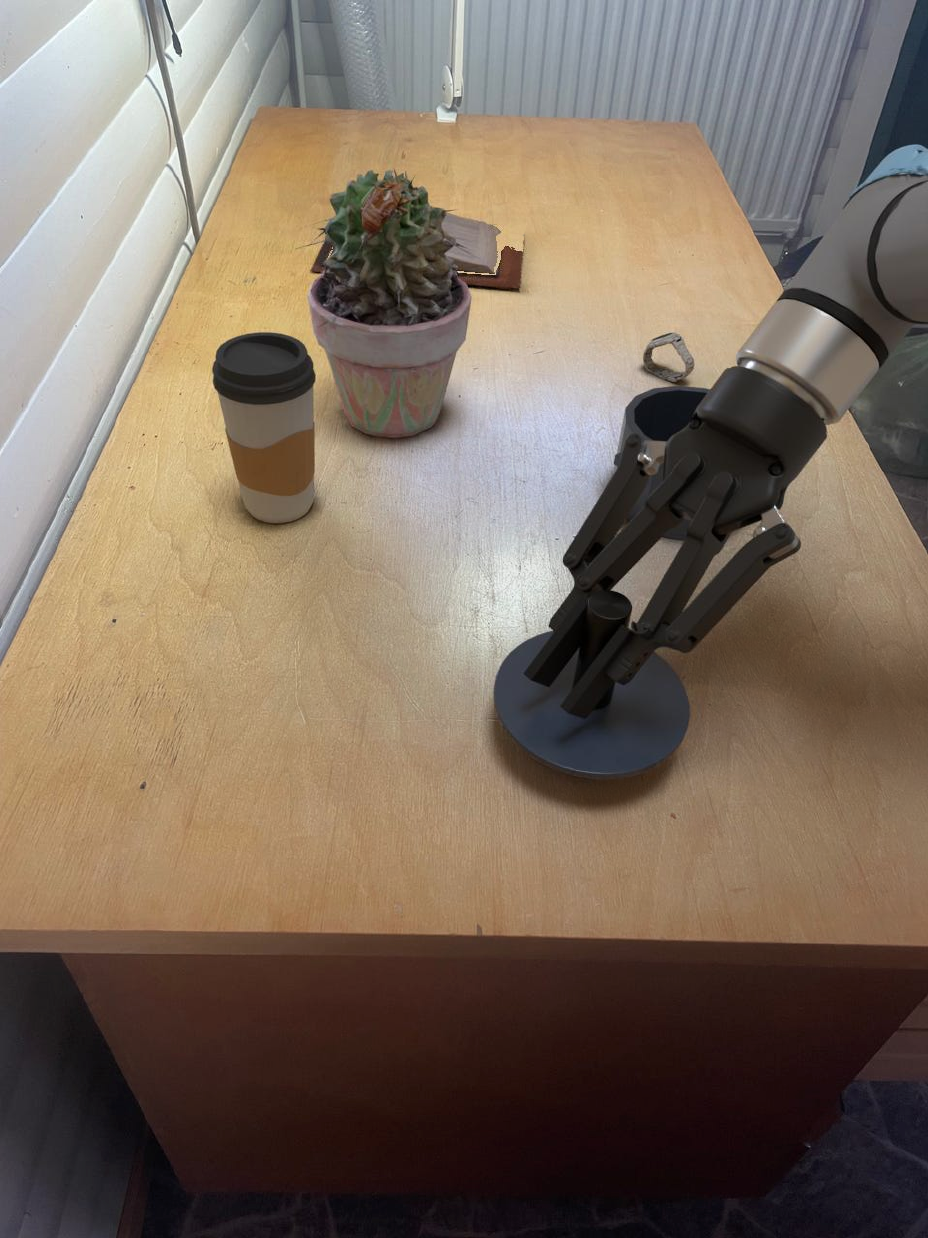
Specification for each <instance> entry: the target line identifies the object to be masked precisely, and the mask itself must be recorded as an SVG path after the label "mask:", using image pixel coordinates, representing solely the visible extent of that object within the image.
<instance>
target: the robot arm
mask: <svg viewBox="0 0 928 1238" xmlns="http://www.w3.org/2000/svg"><path fill="white" fill-rule="evenodd" d="M848 197H849V198H848V199H847V201H845V203H844V204H843V208H842V210H841V212H840V213H839V214H838V216H837V217H836V219H835V220H834V221H833V223H832V224H831V225H830V227H829V228H828V229H827V231H826V232H825V234H824V235H823V236H822V238H821V239H820V240H819V242H818V243H817V245H816V246H815V247H814V248H813V250H812V252H811V253H810V254H809V256H808V257H807V258H806V259H805V261H804V263H803V264H802V265H801V266H800V268H799V269H798V271H797V272H796V273H795V275H793V277H792V279H791V280H790V282H789V283H788V285H786V287H785V289H784V290H783V291H782V293H781V294H780V296H779V297H778V298H777V300H776V301H774V303H773V304H772V306H771V307H770V308H769V310H768V311H767V312H766V314H765V315H764V317H763V318H762V319H761V320H760V322H759V323H758V324H757V326H756V327H755V329H753V331H752V332H751V334H749V336H748V338H747V339H746V340H745V342H744V343H743V344H742V346H741V347H740V348H739V349H738V350H737V352H736V354H735V361H736V365H734V366H731V367H727V368H725V369H724V370H723V372H722V373H721V375H720V376H719V377H718V378H717V380H716V381H715V382H714V384H713V385H712V386H711V388H709V389H710V391H709V392H708V393H707V395H706V396H705V397H704V399H703V400H702V401H701V403H700V404H699V405H698V407H697V409H696V411H695V413H694V415H693V417H692V419H691V421H690V423H689V424H688V425H687V426H686V427H685V428H684V429H682V430H681V431H679V432H677V433H676V434H674V435H673V436H671V437H670V438H669V440H668V441H647V440H644V439H643V438H642V437H641V436H640V435H639V434H631V435H629V436H628V437H627V438H626V441H625V444H624V448H623V452H622V456H621V460H620V464H619V467H618V468H617V470H616V471H615V473H614V475H613V474H612V476H611V478H610V480H609V481H608V483H606V486H605V487H604V489H603V491H602V493H601V494H600V496H599V498H598V499H597V501H596V503H595V505H593V507H592V509H591V510H590V512H589V514H588V515H587V517H586V519H585V520H584V522H583V523H582V525H581V527H580V528H579V530H578V531H577V533H576V535H575V537H574V538H573V539H572V541H571V542H570V545H569V546H568V548H567V550H566V551H565V552H564V555H563V557H562V564H563V566H564V567H565V568H567V570H568V571H569V573H570V575H571V576H572V578H573V587H572V589H571V591H570V592H569V594H567V596H566V598H565V599H564V600H563V601H562V603H561V604H560V606H559V607H558V608H557V610H556V611H555V612H554V614H553V615H552V616H551V618H550V620H549V623H548V628H549V629H550V630H551V631H554V633H553V634H552V636H551V637H550V638H549V640H548V641H547V642H546V644H545V645H544V646H543V648H542V649H541V651H540V652H539V653H538V655H537V656H536V657H535V659H534V660H533V661H532V663H531V664H530V665H529V667H528V668H527V669H526V671H525V672H524V673H523V674H524V675H525V676H526V677H528V678H529V679H530V680H531V681H534V682H536V683H539V684H542V685H544V686H547V687H550V686H551V684H552V683H553V682H554V680H555V679H556V678H557V676H558V675H559V674H560V673H561V671H562V670H563V669H564V667H565V666H566V665H567V663H568V662H569V661H570V659H571V658H572V657H573V655H574V654H575V653H576V651H577V650H578V649H579V647H580V643H581V637H582V632H583V626H584V621H585V615H586V610H587V604H588V600H589V598H590V597H591V595H592V594H594V593H596V592H598V591H602V590H611V591H612V590H613V589H614V587H615V586H617V584H619V582H620V581H621V580H622V579H623V578H624V577H625V576H626V575H627V574H628V573H629V572H630V571H631V570H632V569H633V568H634V567H635V566H636V565H637V564H638V563H639V562H640V561H641V559H643V557H645V556H646V554H647V553H648V552H649V551H650V550H651V549H652V548H653V547H654V546H656V544H657V543H658V542H659V541H660V540H661V539H662V538H664V537H663V536H664V535H665V534H666V533H667V531H669V530H670V529H672V528H675V527H677V526H678V525H679V524H680V523H681V522H682V521H683V520H684V519H688V520H691V523H690V524H689V526H688V529H687V536H686V538H685V540H683V542H682V544H681V546H680V547H679V549H678V551H677V553H676V554H675V556H674V557H673V559H672V562H671V563H670V564H669V566H668V568H667V570H666V571H665V573H664V575H663V577H662V579H661V580H660V582H659V583H658V586H657V588H656V589H655V591H654V593H653V594H652V596H651V598H650V600H649V601H648V603H647V605H646V607H645V608H644V610H643V612H642V614H641V616H640V617H639V619H638V621H637V622H636V621H634V620H632V621H631V623H630V628H629V626H628V627H626V626H624V625H623V624H622V625H621V626H620V627H619V629H618V630H617V631H616V633H615V634H614V635H613V637H612V638H611V639H610V641H609V642H608V643H607V644H606V646H605V647H604V648H603V650H602V651H601V652H600V654H599V655H598V656H597V658H596V659H595V660H594V662H593V663H592V664H591V666H590V667H589V668H588V670H587V671H586V672H585V674H584V675H583V676H582V678H581V679H580V680H579V682H578V683H577V684H576V685H575V687H574V688H573V689H572V691H571V692H570V693H569V695H568V696H567V697H566V699H565V700H564V701H563V703H562V704H561V705H560V707H561V708H563V709H564V710H565V711H566V712H567V713H569V714H572V715H574V716H577V717H580V718H583V719H586V718H587V717H588V716H589V714H590V713H591V712H592V710H593V709H594V708H595V706H596V705H597V704H598V702H599V701H600V700H601V699H602V697H603V696H604V695H605V693H606V692H607V691H608V689H609V688H610V687H611V685H612V684H613V683H614V682H617V683H619V684H621V685H626V684H627V683H629V682H630V681H631V680H632V679H633V678H634V676H635V675H636V673H638V671H639V670H640V668H641V667H642V666H643V665H644V663H645V662H646V661H647V660H648V658H649V657H650V656H651V654H652V653H653V652H655V651H656V650H658V649H659V648H668V649H670V650H674V651H678V652H680V653H682V654H689V653H691V652H693V650H694V649H695V648H696V647H697V646H698V645H699V644H700V643H701V642H702V641H703V640H704V639H705V637H706V636H707V635H709V633H710V632H711V631H713V629H714V628H715V627H716V626H717V624H718V623H720V621H722V619H723V618H724V617H725V616H726V615H727V614H728V613H729V612H730V611H731V610H732V608H733V607H735V605H737V603H738V602H739V601H740V600H741V599H742V598H743V597H744V596H745V595H746V594H747V592H749V590H750V589H751V588H752V587H753V586H754V585H755V584H756V583H757V582H758V581H759V580H760V579H761V578H762V576H763V575H764V574H765V573H766V572H768V570H769V569H770V568H772V567H773V566H775V565H777V564H779V563H780V562H783V561H784V560H786V559H788V558H789V557H791V556H793V555H795V554H797V552H799V551H800V549H801V547H802V542H801V539H800V537H799V536H798V535H797V533H796V532H795V531H794V529H793V528H792V526H791V525H790V524H788V523H787V521H786V519H785V517H784V516H783V514H782V513H781V511H780V510H781V509H782V507H783V505H784V501H785V495H786V492H787V489H788V487H789V486H790V485H791V483H793V481H795V479H796V478H798V476H799V475H800V474H801V473H802V471H803V470H804V468H805V467H806V466H807V464H808V463H809V462H810V461H811V459H812V458H813V457H814V455H815V454H816V453H817V452H818V450H819V449H820V448H821V446H822V445H823V444H824V443H825V441H826V440H827V438H828V429H827V426H831V425H835V424H838V423H839V422H840V421H841V420H842V418H843V417H844V416H845V415H846V413H847V412H848V411H849V409H850V408H851V406H852V405H854V403H855V402H856V400H857V399H858V398H859V396H860V395H861V394H862V392H863V391H864V390H865V388H866V387H867V386H868V384H869V383H870V382H871V380H873V378H874V377H875V375H876V374H877V373H878V372H879V370H880V369H881V368H882V367H883V366H884V365H885V364H886V363H885V362H886V361H887V359H889V357H890V356H891V355H892V353H893V352H895V350H896V348H897V347H898V346H899V345H900V344H901V342H902V341H903V339H905V337H906V336H907V335H908V333H909V332H910V331H911V329H912V328H913V327H914V326H915V325H928V148H927V147H925V146H923V145H921V144H909V145H905V146H902V147H901V146H900V147H899V148H897V149H895V150H893V151H892V152H890V153H888V155H886V156H885V157H884V158H883V159H882V160H881V161H880V163H879V164H878V165H877V166H876V167H875V168H874V170H873V171H872V172H871V173H870V175H868V177H867V178H866V179H865V180H864V181H863V183H861V184H859V186H857V188H855V189H854V191H852V192H851V194H850V195H849V196H848ZM663 462H664V468H663V482H662V483H661V484H660V485H659V486H658V487H657V488H656V489H655V490H654V491H653V492H652V493H651V494H650V495H649V497H648V498H647V499H646V502H645V506H644V507H643V508H642V509H641V510H640V512H639V513H638V514H637V515H636V516H635V517H634V518H633V519H632V520H631V521H629V522H628V523H626V525H625V526H624V527H623V528H622V526H623V525H624V523H625V521H626V520H627V519H626V518H627V516H628V515H629V513H630V512H631V510H632V508H633V507H634V505H635V504H636V502H637V500H638V499H639V497H640V495H641V494H642V492H643V490H644V489H645V487H646V485H647V482H648V480H649V477H650V475H653V474H656V473H657V472H658V468H659V466H660V465H661V464H662V463H663ZM758 522H760V523H759V525H758V526H756V528H755V529H754V530H753V532H752V538H751V539H750V540H748V541H747V542H746V543H745V544H744V545H743V546H742V547H741V548H740V549H738V551H737V552H736V553H735V554H734V555H733V556H732V558H730V559H729V560H728V562H727V563H726V564H725V565H724V566H723V567H722V568H721V569H720V570H719V571H718V572H717V574H716V575H714V577H713V578H712V579H711V580H710V581H709V582H708V583H707V585H706V586H705V587H704V588H703V589H701V591H700V592H699V593H698V594H697V595H696V597H695V598H694V599H693V600H692V601H691V602H690V603H689V601H690V599H691V598H692V596H693V594H694V592H695V591H696V589H697V588H698V585H699V584H700V582H701V580H702V579H703V577H704V575H705V573H706V571H707V570H708V568H709V567H710V564H711V563H712V562H713V560H714V558H715V557H716V556H717V555H719V554H720V553H721V552H722V550H723V549H724V547H725V545H726V543H727V541H728V540H729V538H730V536H731V534H732V533H733V532H735V531H737V530H741V529H743V528H746V527H748V526H751V525H754V524H756V523H758ZM621 528H622V529H621ZM620 529H621V530H620ZM688 603H689V604H688Z"/></svg>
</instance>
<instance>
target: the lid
mask: <svg viewBox="0 0 928 1238" xmlns="http://www.w3.org/2000/svg"><path fill="white" fill-rule="evenodd" d="M632 612H633V604H632V602H631V600H630V598H628V597H627V596H626V595H624V594H623V593H621V592H619V591H616V590H612V589H611V590H602V591H598V592H596V593H594V594H592V595H591V597H590V598H589V600H588V604H587V610H586V615H585V621H584V626H583V632H582V637H581V643H580V647H579V649H578V650H577V651H576V653H575V654H574V655H573V657H572V658H571V659H570V661H569V662H568V663H567V665H566V666H565V667H564V669H563V670H562V671H561V673H560V674H559V675H558V676H557V678H556V679H555V680H554V682H553V683H552V684H551V686H550V687H547V686H544V685H542V684H539V683H536V682H534V681H531V680H530V679H529V678H528V677H526V676H525V675H524V674H523V673H524V672H525V671H526V669H527V668H528V667H529V665H530V664H531V663H532V661H533V660H534V659H535V657H536V656H537V655H538V653H539V652H540V651H541V649H542V648H543V646H544V645H545V644H546V642H547V641H548V640H549V638H550V637H551V636H552V634H553V633H554V631H553V630H550V631H545V632H542V633H540V634H539V633H538V634H536V635H534V636H532V637H530V638H528V639H526V640H525V641H523V642H522V643H520V644H518V645H516V647H515V648H514V649H512V650H510V652H509V654H508V655H507V656H506V657H505V658H504V659H503V661H502V662H501V664H500V666H499V668H498V670H497V672H496V675H495V679H494V684H493V706H494V711H495V713H496V717H497V719H498V721H499V723H500V725H501V728H502V729H503V731H504V732H505V733H506V735H507V736H508V737H509V739H510V740H511V741H512V742H513V743H514V744H515V745H516V746H517V747H518V748H519V749H520V750H521V751H523V753H525V754H526V755H528V756H529V757H531V758H532V759H534V760H535V761H536V762H538V763H540V764H542V765H544V766H546V767H548V768H550V769H553V770H555V771H558V772H560V773H563V774H566V775H570V776H573V777H578V778H585V779H593V780H618V779H623V778H630V777H634V776H638V775H640V774H643V773H646V772H649V771H651V770H653V769H655V768H657V767H658V766H660V765H662V764H663V763H664V762H666V761H667V760H668V759H669V758H671V757H672V756H673V755H674V753H675V752H676V751H677V750H678V749H679V747H680V746H681V744H682V743H683V741H684V739H685V737H686V734H687V731H688V728H689V725H690V719H691V703H690V699H689V694H688V692H687V689H686V686H685V685H684V683H683V681H682V679H681V677H680V676H679V675H678V673H677V671H675V668H673V667H672V666H671V664H670V663H669V662H668V661H667V660H665V658H663V657H662V656H661V655H660V654H658V653H657V652H655V651H654V652H653V653H652V654H651V656H650V657H649V658H648V660H647V661H646V662H645V663H644V665H643V666H642V667H641V668H640V670H639V671H638V673H636V675H635V676H634V678H633V679H632V680H631V681H630V682H629V683H627V684H626V685H621V684H619V683H617V682H614V683H613V684H612V685H611V687H610V688H609V689H608V691H607V692H606V693H605V695H604V696H603V697H602V699H601V700H600V701H599V702H598V704H597V705H596V706H595V708H594V709H593V710H592V712H591V713H590V714H589V716H588V717H587V718H586V719H583V718H580V717H577V716H574V715H572V714H569V713H567V712H566V711H565V710H564V709H563V708H561V707H560V705H561V704H562V703H563V701H564V700H565V699H566V697H567V696H568V695H569V693H570V692H571V691H572V689H573V688H574V687H575V685H576V684H577V683H578V682H579V680H580V679H581V678H582V676H583V675H584V674H585V672H586V671H587V670H588V668H589V667H590V666H591V664H592V663H593V662H594V660H595V659H596V658H597V656H598V655H599V654H600V652H601V651H602V650H603V648H604V647H605V646H606V644H607V643H608V642H609V641H610V639H611V638H612V637H613V635H614V634H615V633H616V631H617V630H618V629H619V627H620V626H621V625H622V624H623V625H624V626H626V627H628V628H629V626H630V621H631V616H632V614H633V613H632Z"/></svg>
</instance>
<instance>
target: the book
mask: <svg viewBox="0 0 928 1238" xmlns="http://www.w3.org/2000/svg"><path fill="white" fill-rule="evenodd" d="M493 225H494V224H492V225H491V223H487V222H485V221H483V220H478V219H472V218H467V217H464V216H460V215H456V214H453V213H449V212H446V216H445V218H444V220H443V221H442V226H441V227H442V230H444V231H447V233H448V234H449V235H450V236H451V237H452V238H453V237H456V238H454V239H456V243H458V244H460V245H462V246H464V247H466V248H463V247H459V246H458V247H459V248H458V247H456V246H453V247H452V248H451V249H450V250H448V251H447V252H446V253H444V254H445V255H446V256H448V257H449V258H451V259H452V260H454V262H453V264H455V265H456V266H457V267H458V268H457V271H464V272H475V273H489V274H495V272H494V267H495V266H496V263H497V258H498V256H497V255H498V254H497V253H498V251H497V241H496V236H497V235H498V234H500V233H501V231H500V230H499V229H498V228H497V227H495V226H493ZM458 238H460V239H458ZM463 239H465V240H463ZM468 240H469V241H468ZM473 241H474V242H473ZM524 243H525V242H524ZM524 243H523V244H524ZM524 245H525V244H524ZM320 247H321V248H319V249H320V250H319V252H318V254H317V255H316V258H315V259H314V262H313V263H312V266H311V267H310V268H311V269H309V271H310V272H315V273H321V272H323V271H324V270H325V269H326V266H324V264H323V262H324V261H326V260H327V258H328V256H329V253H330V251H328V250H330V249H332V247H333V246H331V245H330V244H328V243H327V242H326V241H325V242H323V243H322V245H321V246H320ZM460 248H461V249H460ZM467 248H468V249H467ZM511 248H512V249H511ZM511 248H510V247H509V246H505V247H504V249H503V250H502V251H501V260H500V263H499V266H498V268H497V270H496V275H481V274H467V273H460V274H459V273H457V276H458V278H459V279H461V280H462V281H463V282H465V283H466V284H467V285H472V286H473V285H474V286H479V287H487V288H495V289H501V290H504V291H508V290H511V289H521V283H522V281H521V280H522V273H523V271H522V270H523V268H522V267H523V260H524V253H525V252H524V251H523V252H522V251H516V250H514V249H515V248H513V247H511ZM462 249H463V250H462ZM464 250H465V251H464ZM472 250H473V251H472ZM325 251H326V252H325ZM466 251H467V252H469V253H471V254H472V255H471V254H469V253H467V252H466ZM475 251H476V252H475ZM322 252H323V253H322ZM334 252H335V250H333V251H332V253H331V255H332V254H333V253H334ZM331 255H330V256H331ZM473 255H474V256H473ZM475 256H476V257H475ZM478 258H479V259H478ZM480 259H481V260H480ZM461 274H462V275H461Z"/></svg>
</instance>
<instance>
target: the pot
mask: <svg viewBox="0 0 928 1238" xmlns="http://www.w3.org/2000/svg"><path fill="white" fill-rule="evenodd" d="M710 389H711V388H707V387H699V386H698V387H697V386H687V385H669V386H662V387H654V388H650V389H648V390H646V391H644V392H642V393H639V394H637V395H635V396H634V397H633V398H632V399H631V400H630V402H629V403H628V404H627V405H626V407H625V408H624V412H623V419H622V423H621V429H620V435H619V440H618V446H617V451H616V453H615V455H614V459H613V471H612V472H613V473H612V476H613V475H614V473H615V471H616V470H617V468H618V467H619V464H620V460H621V456H622V452H623V448H624V444H625V441H626V438H627V437H628V436H629V435H631V434H639V435H640V436H641V437H642V438H643V439H644V440H647V441H668V440H669V438H670V437H671V436H673V435H674V434H676V433H677V432H679V431H681V430H682V429H684V428H685V427H686V426H687V425H688V424H689V423H690V421H691V419H692V417H693V415H694V413H695V411H696V409H697V407H698V405H699V404H700V403H701V401H702V400H703V399H704V397H705V396H706V395H707V393H708V392H709V391H710ZM663 468H664V462H663V463H662V464H661V465H660V466H659V468H658V472H657V473H656V474H653V475H650V477H649V480H648V482H647V485H646V487H645V489H644V490H643V492H642V494H641V495H640V497H639V499H638V500H637V502H636V504H635V505H634V507H633V508H632V510H631V512H630V513H629V515H628V516H627V518H626V520H627V521H629V522H630V521H631V520H632V519H633V518H634V517H635V516H636V515H637V514H638V513H639V512H640V510H641V509H642V508H643V507H644V506H645V502H646V499H647V498H648V497H649V495H650V494H651V493H652V492H653V491H654V490H655V489H656V488H657V487H658V486H659V485H660V484H661V483H662V482H663ZM690 523H691V520H688V519H684V520H683V521H682V522H681V523H680V524H679V525H678V526H677V527H675V528H672V529H670V530H669V531H667V533H666V534H665V535H664V536H663V537H662V538H667V539H673V540H680V541H684V540H685V538H686V536H687V529H688V526H689V524H690Z"/></svg>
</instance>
